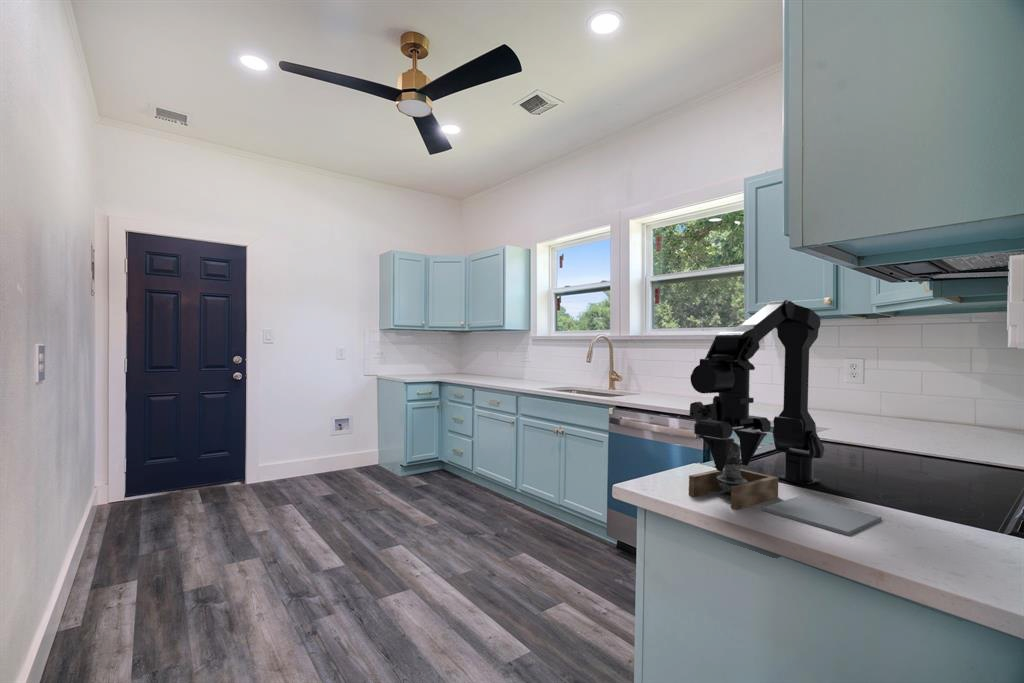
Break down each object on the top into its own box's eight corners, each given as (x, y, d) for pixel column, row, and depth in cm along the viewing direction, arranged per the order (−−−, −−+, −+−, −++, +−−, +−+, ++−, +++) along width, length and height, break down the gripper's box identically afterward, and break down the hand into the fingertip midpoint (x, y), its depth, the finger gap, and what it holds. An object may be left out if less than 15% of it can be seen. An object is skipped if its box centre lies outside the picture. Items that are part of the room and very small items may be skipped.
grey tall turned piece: (741, 493, 101) (742, 436, 101) (752, 502, 95) (753, 441, 95) (712, 491, 101) (713, 435, 101) (721, 500, 95) (722, 440, 96)
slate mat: (799, 498, 98) (799, 495, 98) (881, 519, 86) (881, 516, 86) (762, 510, 90) (763, 507, 90) (848, 535, 78) (848, 531, 78)
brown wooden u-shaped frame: (730, 484, 107) (730, 466, 107) (778, 497, 98) (778, 477, 98) (688, 494, 98) (689, 475, 98) (736, 509, 90) (737, 488, 90)
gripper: (723, 387, 110) (722, 455, 110) (672, 390, 100) (670, 465, 100) (772, 391, 101) (771, 465, 101) (721, 395, 91) (720, 477, 90)
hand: (732, 467), depth 98 cm, fingers open, 9 cm apart
